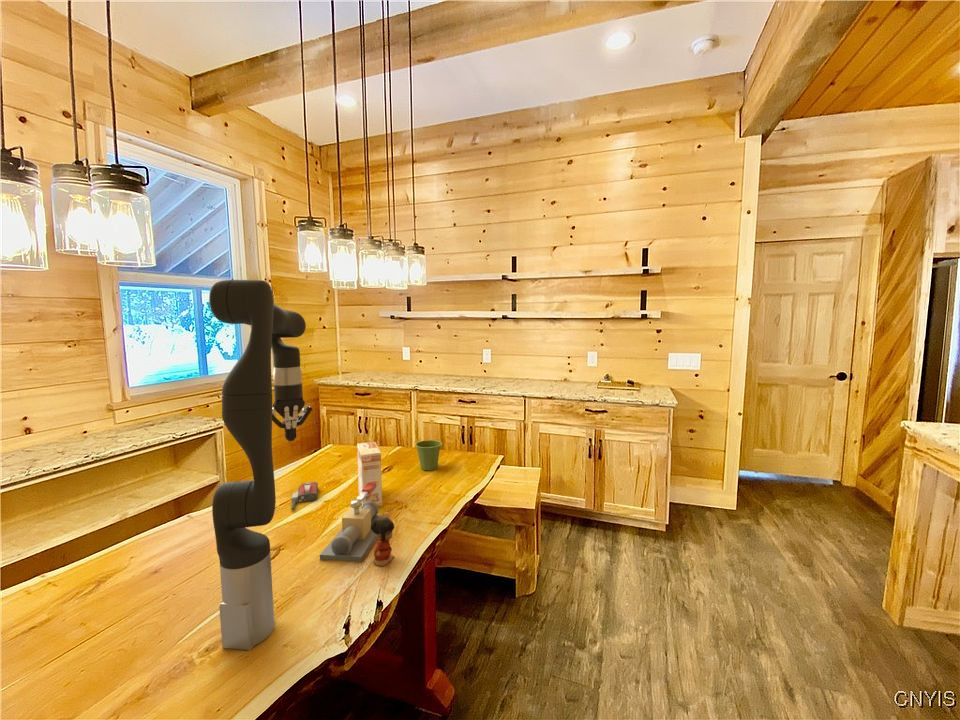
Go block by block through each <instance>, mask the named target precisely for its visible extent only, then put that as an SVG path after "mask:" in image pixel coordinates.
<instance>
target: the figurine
mask: <svg viewBox="0 0 960 720" xmlns="http://www.w3.org/2000/svg"><path fill="white" fill-rule="evenodd" d="M394 529H395V524H394V523H393V521H392V519H390V517H389V518H381V519H374V520H373V523H372V525H371V530H372V531H373V532H374V533H375V534H378V535H379V536H378V539H377V540H376V543H375V544H376V546H375V548H374V550H373V557H374V559H373V561H372V562H373V564H374V565H375V566H378V567H379V566H380V567H384V566H386V565H388V564H389V563H390V562H392V560H393V559H394V556H393V554H392V551H393V550H392V549H393V548H392V547H391V543H390V540H391V539H392V538H393V531H394Z"/></svg>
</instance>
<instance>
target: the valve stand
mask: <svg viewBox="0 0 960 720" xmlns="http://www.w3.org/2000/svg"><path fill="white" fill-rule="evenodd" d="M379 510H380V508H379V506H378V505H377V504H376V503H375V502H373V501H367V502H365V503H364V504H363V506H361V507H359V508H352V507H350V508H349V509H348V510H347V512H346V513H345V514H344V515H343V516H342V517H341V524H342V526H341V527H342V528H341V529H340V530H339V531H338V532H337V534H336V535H335V536H334V537H333V538H332V540H330V542H329V543H328V544H327V545H326V546H325V548H324V549H323V550H322V552H320V554H319V561H334V562H348V563H349V562H352V563H362V562H363V561H364V559H365V558H366V556H367V555H368V553H369V552H370V551H371V549H372V548H373V545H374V544H375V542H377V540H378V539H379V535H378V534H375V533H374V532H373V531H372V530H371V525H372V523H373V520H374V519H381V518H389V519H390V516H389V515H386V514H385V515H383V514H382V515H381V514H379Z"/></svg>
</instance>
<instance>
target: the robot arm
mask: <svg viewBox="0 0 960 720" xmlns="http://www.w3.org/2000/svg"><path fill="white" fill-rule="evenodd" d="M208 298H209V299H208V302H209V307H210V310H211V313H212V315H214V317H215V319H217V320H218V321H220V322H222V323H226V324H232V325H238V324H239V325H248V326H250V327H251V329H250V335H249V339H248V343H247V345H246V347H245V349H244V351H243V353H242V355H241V356H240V357H239V359H238V360H237V361H236V363H235V364H234V366H233V367H232V369H231V370H230V372H229V373H228V375H227V376H226V378H225V380H224V382H223V384H222V387H221V418H222V421H223V424H224V426H225V427H226V429H227V431H228V432H229V433H230V435H231V436H232V437H233V438H234V440H235V441H236V442H237V443H238V445H239V446H240V448H241V449H242V450H243V452H244V453H245V455H246V457H247V459H248V461H249V463H250V466H251V472H252V476H253V479H251V480H239V481H228V482H224V483H222V484H220V485H219V486H218V487H217V488H216V489H215V491H214V494H213V498H212V505H211V506H212V507H211V509H212V511H211V512H212V513H211V515H212V522H213V528H214V529H213V530H214V536H215V537H214V538H215V543H216V552H217V555H218V558H219V569H220V570H219V571H220V585H221V598H222V599H221V600H222V602H220V604H219V606H218V607H219V618H220V619H219V620H220V634H221V635H220V636H221V648H223V649H229V650H243V651H251V650H252V648H253V647H254V646H256V645H258V644H260V643H261V642H263V641H264V640H266V639H267V638H268V637H269V636H270V635H271V634H272V632H273V631H274V629H275V614H274V612H275V610H274V607H275V606H274V597H273V596H274V595H273V591H274V590H273V577H272V576H273V573H272V561H271V560H272V557H271V543H270V542H271V541H270V539H269V537H268V536H267V535H265V534H264V533H262V532H257V531H255V530H251V529H249V528H251V527H259V526H260V527H261V526H265V525H268V524H270V523H271V522H272V520H273V519H274V516H275V511H276V502H277V500H276V483H275V474H274V473H275V472H274V459H273V458H274V457H273V440H272V438H273V431H272V430H273V423H274V424H275V425H276V426H277V427H278V428H279V429H283V430H284V439H285V440H286V441H288V442H294V441H295V439H297V428H298V427H299V426H302V425H303V424H304V422H306V420H307V418H308V417H309V415H310V414H311V413H312V411H313V407H311V406H309V405H307V404H306V403H305V400H304V397H303V396H304V394H303V374H302V369H301V368H302V367H301V351H300V348H299V347H297V346H294V345H290V344H287V343H285V342H283V340H282V338H285V339H287V338H299V337H301V336H303V334H304V333H305V331H306V330H307V329H306V327H307V324H306V320H305V318H304V317H303V316H302V315H301V314H300V313H299V312H297V311H292V310H286V309H283V307H280V306H279V305H277V304H275V302H274V294H273V289H272V287H271V285H270V283H269V282H267V281H265V280H262V279H222V280H219V281H217V282H215V283H214V284H212V286H211V288H210V290H209V297H208ZM272 358H273V361H272ZM272 362H273V371H272ZM272 372H273V375H272ZM272 376H273V377H272ZM272 382H273V383H272ZM273 393H274V395H273ZM273 396H274V402H273ZM301 411H302V412H301ZM300 413H301V414H300ZM277 414H278V415H279V416H281V417H282V422H281V421H280V420H279V419H278V418H277ZM298 415H299V416H298Z"/></svg>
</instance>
